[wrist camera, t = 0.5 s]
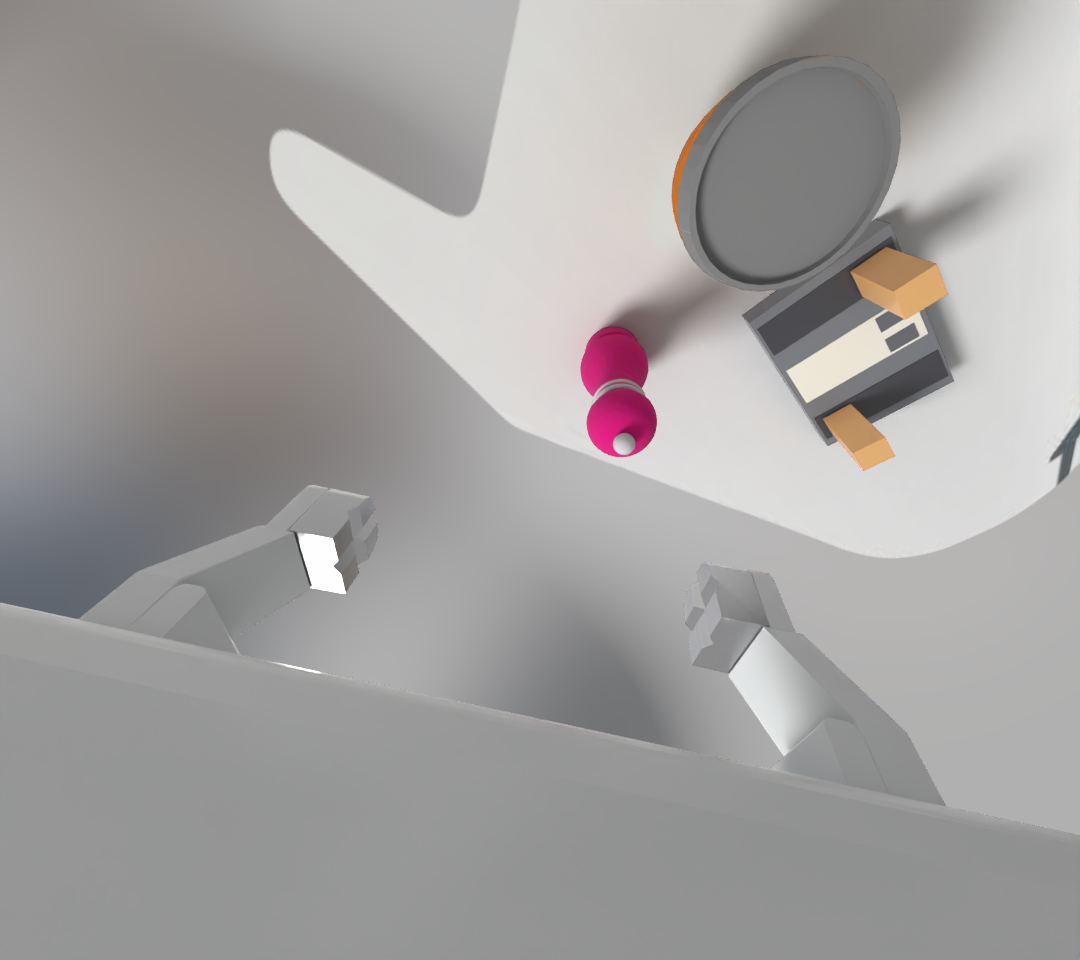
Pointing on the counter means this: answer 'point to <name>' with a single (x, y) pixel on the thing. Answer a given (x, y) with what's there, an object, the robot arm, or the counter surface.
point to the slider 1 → (859, 437)
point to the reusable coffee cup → (786, 171)
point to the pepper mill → (617, 393)
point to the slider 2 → (899, 282)
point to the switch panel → (848, 342)
